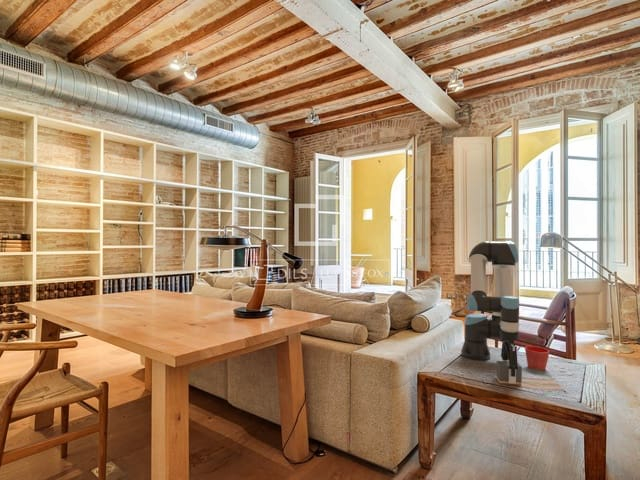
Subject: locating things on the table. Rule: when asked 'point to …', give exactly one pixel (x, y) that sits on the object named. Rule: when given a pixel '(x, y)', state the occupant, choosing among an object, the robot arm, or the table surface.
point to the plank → (536, 384)
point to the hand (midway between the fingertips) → (508, 378)
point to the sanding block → (507, 372)
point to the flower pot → (536, 357)
